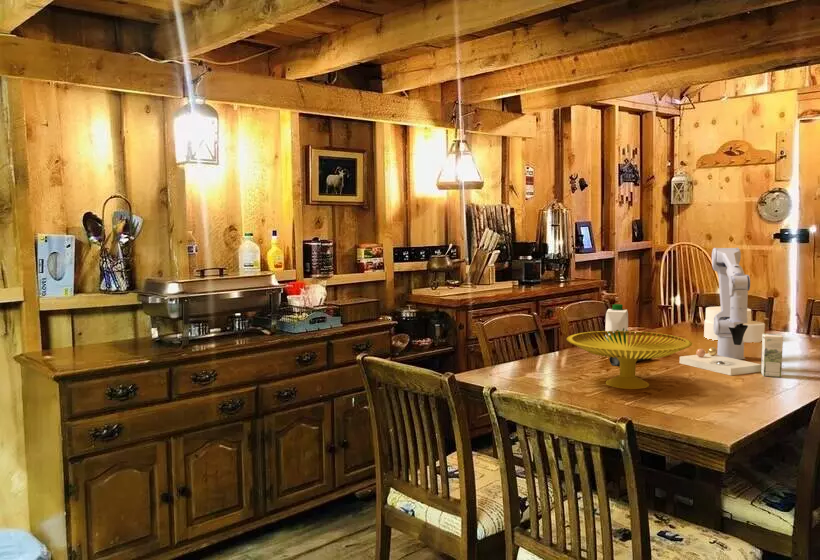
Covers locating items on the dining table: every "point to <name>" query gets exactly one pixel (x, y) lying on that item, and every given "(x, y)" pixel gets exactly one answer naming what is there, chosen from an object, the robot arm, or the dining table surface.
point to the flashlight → (616, 362)
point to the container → (754, 327)
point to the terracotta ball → (700, 352)
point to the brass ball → (712, 351)
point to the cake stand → (628, 352)
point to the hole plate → (728, 368)
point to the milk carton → (616, 321)
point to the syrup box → (771, 355)
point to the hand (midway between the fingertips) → (737, 344)
